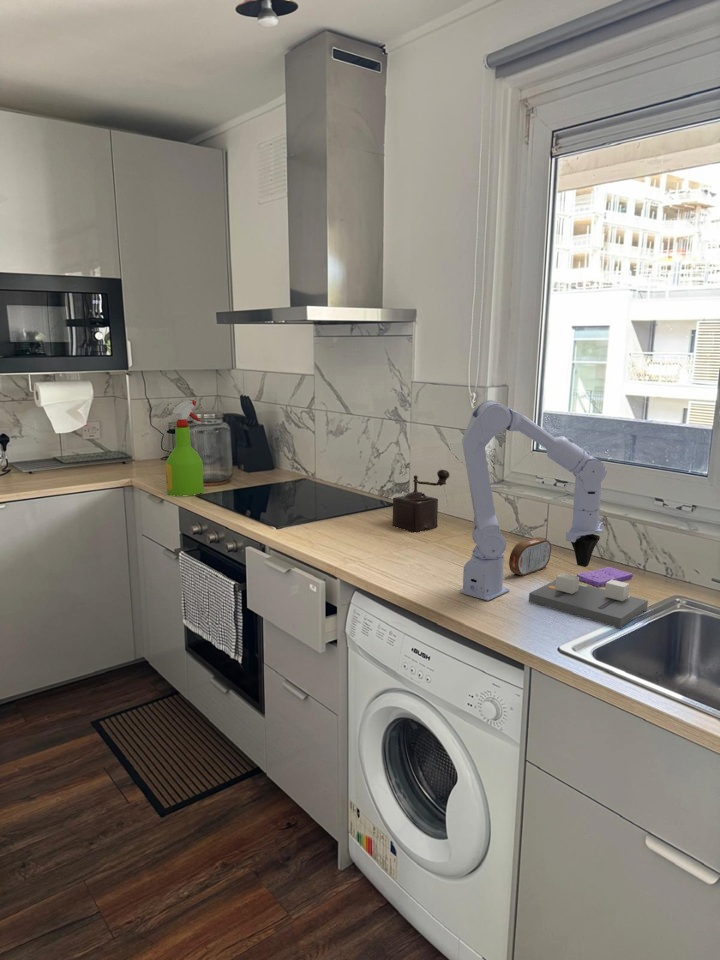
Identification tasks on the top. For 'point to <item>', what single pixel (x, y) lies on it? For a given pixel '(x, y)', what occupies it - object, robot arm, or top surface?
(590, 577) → the sponges
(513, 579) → the top surface
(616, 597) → the block
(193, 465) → the spray bottle
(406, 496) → the manual coffee grinder
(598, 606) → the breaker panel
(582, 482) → the robot arm
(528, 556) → the tin
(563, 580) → the off-white cube
